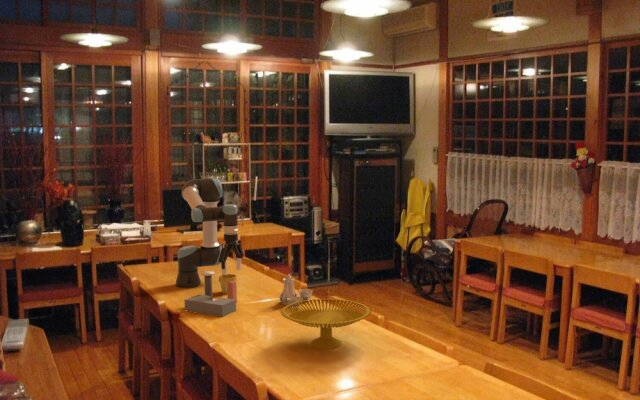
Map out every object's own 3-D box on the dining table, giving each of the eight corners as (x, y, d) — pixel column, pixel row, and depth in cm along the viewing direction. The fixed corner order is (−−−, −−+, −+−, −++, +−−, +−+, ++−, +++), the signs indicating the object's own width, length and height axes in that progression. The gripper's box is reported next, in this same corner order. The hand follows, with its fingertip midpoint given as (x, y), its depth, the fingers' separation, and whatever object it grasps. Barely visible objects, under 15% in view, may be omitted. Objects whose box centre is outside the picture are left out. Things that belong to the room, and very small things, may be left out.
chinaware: (302, 314, 341) (305, 283, 338) (271, 309, 344) (274, 278, 342) (314, 300, 368) (316, 271, 365) (285, 295, 371) (288, 267, 369)
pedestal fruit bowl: (319, 323, 318) (319, 293, 317) (389, 340, 293) (389, 308, 291) (261, 345, 287) (260, 312, 286) (333, 366, 262) (333, 330, 260)
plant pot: (238, 290, 385) (238, 273, 383) (234, 294, 374) (234, 277, 373) (221, 289, 386) (221, 273, 384) (217, 294, 375) (216, 277, 374)
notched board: (184, 311, 342) (184, 299, 341) (199, 305, 353) (198, 294, 352) (222, 316, 331) (222, 305, 330) (236, 310, 342) (235, 299, 341)
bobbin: (195, 304, 355) (194, 273, 353) (206, 299, 364) (206, 269, 362) (210, 306, 350) (209, 275, 348) (221, 301, 359) (220, 271, 357)
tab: (227, 303, 355) (227, 282, 354) (231, 302, 358) (230, 280, 357) (233, 304, 354) (232, 282, 352) (236, 303, 357) (236, 281, 355)
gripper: (222, 237, 339) (223, 277, 341) (249, 230, 361) (250, 268, 363) (211, 236, 342) (212, 276, 344) (238, 229, 364) (238, 267, 366)
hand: (231, 272), depth 354 cm, fingers open, 13 cm apart
